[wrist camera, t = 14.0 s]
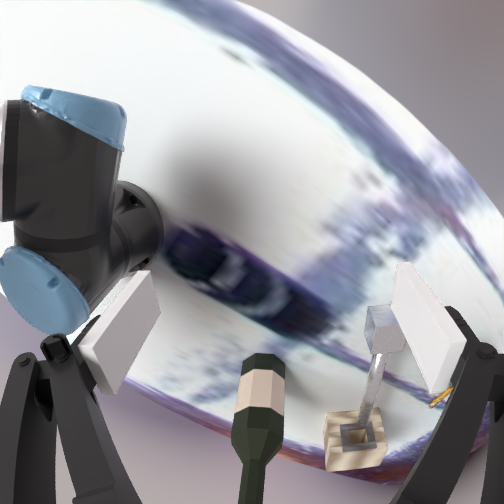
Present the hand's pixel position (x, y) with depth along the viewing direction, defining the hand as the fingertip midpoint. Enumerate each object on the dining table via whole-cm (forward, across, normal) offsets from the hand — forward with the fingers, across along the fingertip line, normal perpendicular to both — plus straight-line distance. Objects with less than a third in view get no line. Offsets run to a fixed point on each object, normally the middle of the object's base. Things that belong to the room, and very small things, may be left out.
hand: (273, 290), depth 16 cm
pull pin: (+24, +15, -30) cm, 41 cm away
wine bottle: (+29, -4, -34) cm, 45 cm away
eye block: (+29, +15, -53) cm, 62 cm away
